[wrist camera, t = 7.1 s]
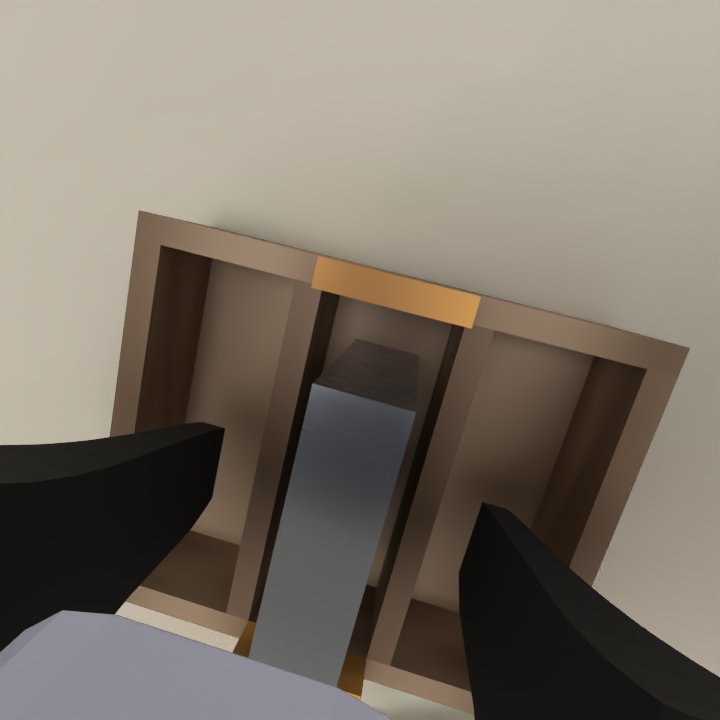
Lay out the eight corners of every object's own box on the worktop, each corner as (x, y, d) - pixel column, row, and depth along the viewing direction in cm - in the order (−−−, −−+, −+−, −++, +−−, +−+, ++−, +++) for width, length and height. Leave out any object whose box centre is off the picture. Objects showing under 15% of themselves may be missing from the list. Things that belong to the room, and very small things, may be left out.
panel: (417, 354, 14) (416, 412, 8) (363, 546, 16) (329, 710, 10) (356, 338, 14) (312, 383, 8) (308, 529, 16) (243, 680, 10)
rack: (615, 327, 14) (725, 357, 9) (504, 624, 17) (542, 779, 11) (210, 227, 15) (106, 203, 10) (162, 520, 18) (59, 619, 13)
